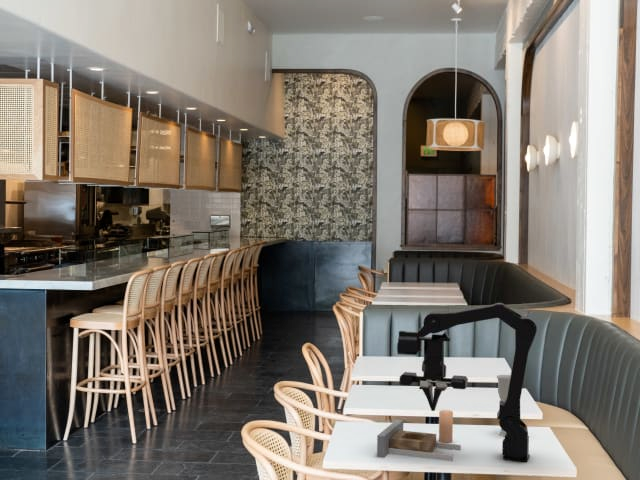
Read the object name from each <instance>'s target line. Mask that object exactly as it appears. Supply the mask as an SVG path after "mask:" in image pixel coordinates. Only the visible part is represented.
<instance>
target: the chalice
mask: <svg viewBox="0 0 640 480" xmlns="http://www.w3.org/2000/svg"><path fill="white" fill-rule="evenodd" d="M510 375H511V374H497V375H496V378H497V394H498V397H499V400H500V401H503V402H504V401H505V399H506V397H507V393H508V387H509V381H510ZM500 428H501V427H500ZM498 435H499V436H500V437H504V438H505V435H506V432H505V431H504V430H502V428H501V429H500V430H499V433H498Z"/></svg>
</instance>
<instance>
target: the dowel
mask: <svg viewBox="0 0 640 480" xmlns="http://www.w3.org/2000/svg"><path fill="white" fill-rule="evenodd" d="M438 414H439V416H438V417H439V419H438V420H439V421H438V423H439V424H438V442H440V443H449V444H453V431H454V430H453V423H454V422H453V421H454V413H453V410H447V409H441V410H439V413H438Z"/></svg>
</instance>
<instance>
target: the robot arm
mask: <svg viewBox="0 0 640 480" xmlns="http://www.w3.org/2000/svg"><path fill="white" fill-rule="evenodd" d="M493 319H499V320H501V322H504V324H506V325H507V326H509V327H510V328H512V329H513V330H514V344H515V345H514V354H513V357H512V358H513V359H512V365H511V371H510V374H509V375H510V381H509V387H508V393H507V397H506V399H505V401H504V402H503V401H501V400H499V409H498V411H497V413H496V419H497V420H498V423H499V427H500V428H502V430H504V431H505V432H506V435H505V437H504V438H503V440H502V450H501V451H502V453H501V454H502V456H503V459H502V460H507V461H516V462H524V463H525V462H526V463H527V462H528V461H529V459H530V455H531V454H530V453H529V452H530V449H529V448H530V444H529V443H530V436H529V432H528V425H527V424H526V423H525V422H524V421H523V420H522V419H521V398H522V397H521V396H522V391H523V385H524V379H525V375H526V374H525V373H526V369H527V362H528V356H529V352H530V349H531V347H532V345H533V342H534V339H535V338H536V334H537V330H538V329H537V325H536V321H535V320H534V319H533V318H532V317H530V316H527V315H524V316H523V315H521V314H519V313H518V312H516V310H512V309H511V308H510V307H508V306H506V304H504V303H502V302H497V303H493V304H487V305H484V306H483V305H482V306H479V307H472V308H471V307H470V308H466V309H462V310H455V311H452V310H451V311H450V310H437V311H436V310H433V311H430V312H429V313H427V314H426V316H425V317H424V318H423V325H422V327H419V328H418V331H406V330H399V331H398V338H397V340H398V341H397V344H396V351H397V355H401V356H403V355H404V356H418V355H419V352H420V353H421V352H422V350H423V360H422V364H421V371H422V373H423V374H422V375H423V376H422V375H418V374H417V372H412V371H411V372H409V371H408V372H407V371H405V372H403V373H402V374H401V375H400V376H399V385H400V386H411V385H412V384H413V383H416V384H417V383H419V390H422V392H423V394H424V396H425V397H426V399H427V402H428V405H429V408H430V410H431V411H432V412H435V411H436V407H437V405H438V403H439V399H440V396H441V394H442V392H445V391H446V390H447V389H448V386H451V387H452V389H456V390H466V389H467V387H468V386H469V385H468V384H469V381H468V380H469V379H468V377H467V376H466V375H454V374H453V376H451V378H450V377H446V376H447V365H446V364H445V342H450V341H451V338H452V337H450V335H448V334H447V332H446V330H449V329H452V328H454V327H456V326H459V325H465V324H470V323H476V322H481V321H487V320H493ZM441 332H443V333H442V334H438V333H441ZM430 334H431V336H428V335H430ZM433 385H435V387H434V390H433Z"/></svg>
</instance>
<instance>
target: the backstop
mask: <svg viewBox="0 0 640 480" xmlns="http://www.w3.org/2000/svg"><path fill="white" fill-rule="evenodd" d="M399 430H402V431H404V419H395V420H394V421H393V422H392V423H391V424H390V425H388V426H387V427H386V428H385V429H383V430H382V431H381V432H380V433H378V434H377V436H376V437H377V438H376V439H377V442H376V444H377V445H376V446H377V447H376V452H377V453H376V457H377V458H385V457H386V456H388V454H389V455H398V456H406V457H414V458H424V459H432V460H439V461H447V462H449V461H450V462H453V460H454V458H453V457H454V456H453V455H452V454H447V453H446V454H444V453H437V452H432V453H429V452H420V451H411V450H402V449H394V448H390V438H392V437H393V436H394V435H395V434H396V433H397V432H398V431H399ZM436 449H444V450H455V451H461V450H462V445H461V444H456V443H441V442H439V441H438V442H437V441H436Z"/></svg>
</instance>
